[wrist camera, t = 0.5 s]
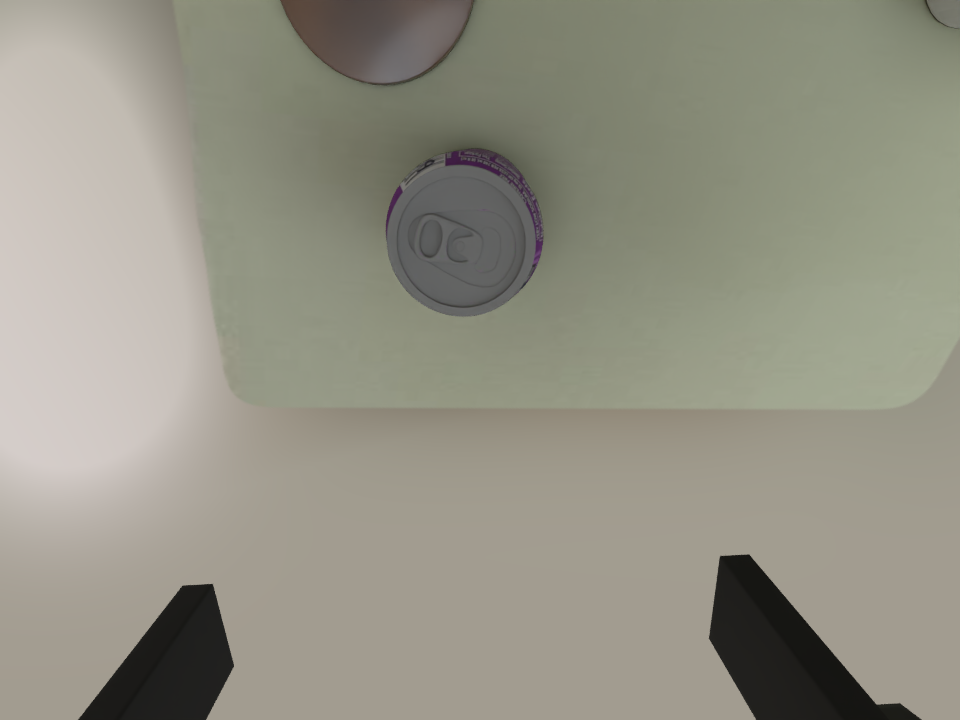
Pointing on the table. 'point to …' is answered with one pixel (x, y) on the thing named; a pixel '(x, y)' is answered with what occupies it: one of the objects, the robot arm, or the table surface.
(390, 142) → the table surface
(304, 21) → the coaster
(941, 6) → the coffee cup
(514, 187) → the beverage can
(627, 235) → the table surface
